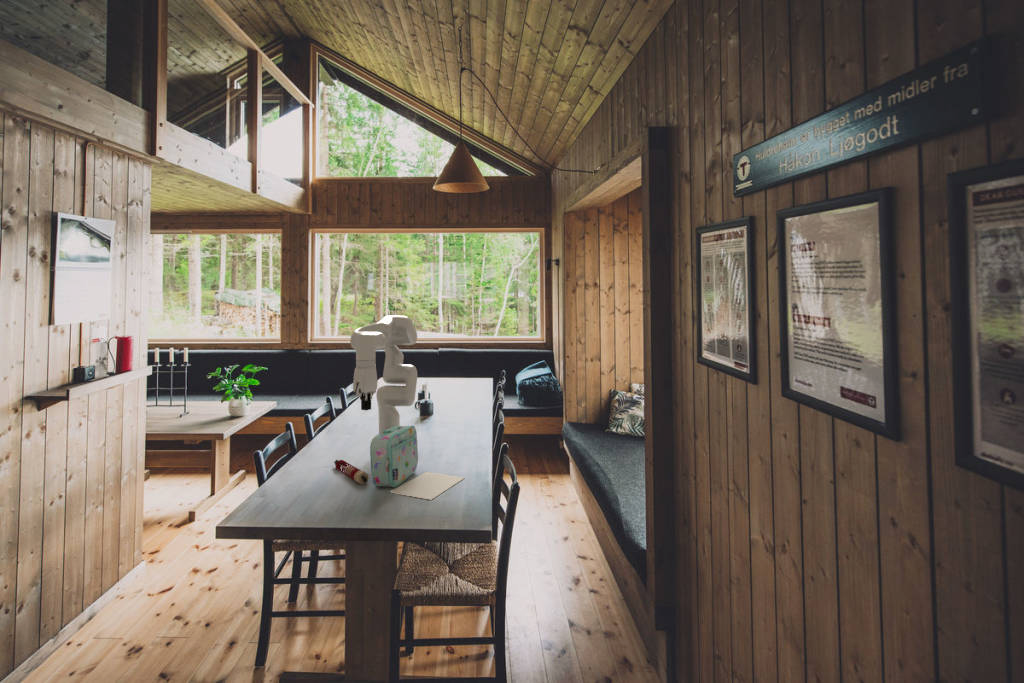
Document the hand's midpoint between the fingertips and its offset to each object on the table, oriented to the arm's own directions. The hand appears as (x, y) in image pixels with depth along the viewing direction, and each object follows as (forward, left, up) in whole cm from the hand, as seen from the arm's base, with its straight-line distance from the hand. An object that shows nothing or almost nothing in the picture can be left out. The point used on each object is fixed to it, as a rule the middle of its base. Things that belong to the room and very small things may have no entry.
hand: (366, 409), depth 212 cm
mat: (+29, 0, -27) cm, 40 cm away
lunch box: (+14, 0, -27) cm, 31 cm away
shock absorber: (-6, -3, -28) cm, 28 cm away
